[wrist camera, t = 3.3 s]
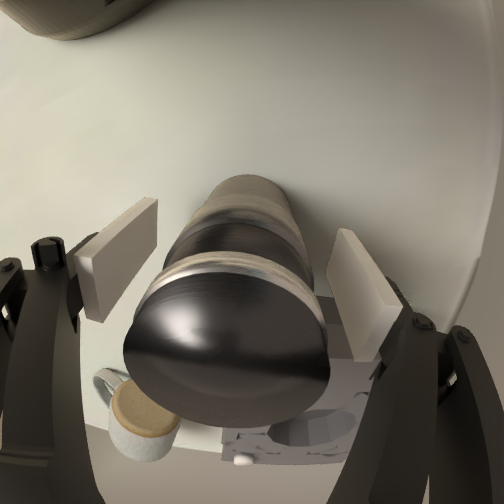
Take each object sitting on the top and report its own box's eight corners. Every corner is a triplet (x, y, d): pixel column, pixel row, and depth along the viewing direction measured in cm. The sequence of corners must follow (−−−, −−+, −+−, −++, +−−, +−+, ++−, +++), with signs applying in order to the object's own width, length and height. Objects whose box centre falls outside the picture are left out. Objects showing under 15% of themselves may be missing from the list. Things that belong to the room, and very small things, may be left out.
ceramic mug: (190, 387, 25) (174, 452, 18) (178, 419, 29) (165, 471, 22) (95, 350, 24) (63, 405, 17) (99, 388, 28) (77, 435, 21)
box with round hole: (245, 286, 19) (238, 360, 13) (412, 306, 20) (447, 366, 14) (223, 414, 27) (217, 466, 21) (337, 420, 28) (345, 468, 22)
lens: (208, 165, 16) (101, 269, 5) (301, 180, 16) (373, 312, 5) (199, 249, 18) (134, 410, 7) (282, 262, 18) (300, 435, 8)
